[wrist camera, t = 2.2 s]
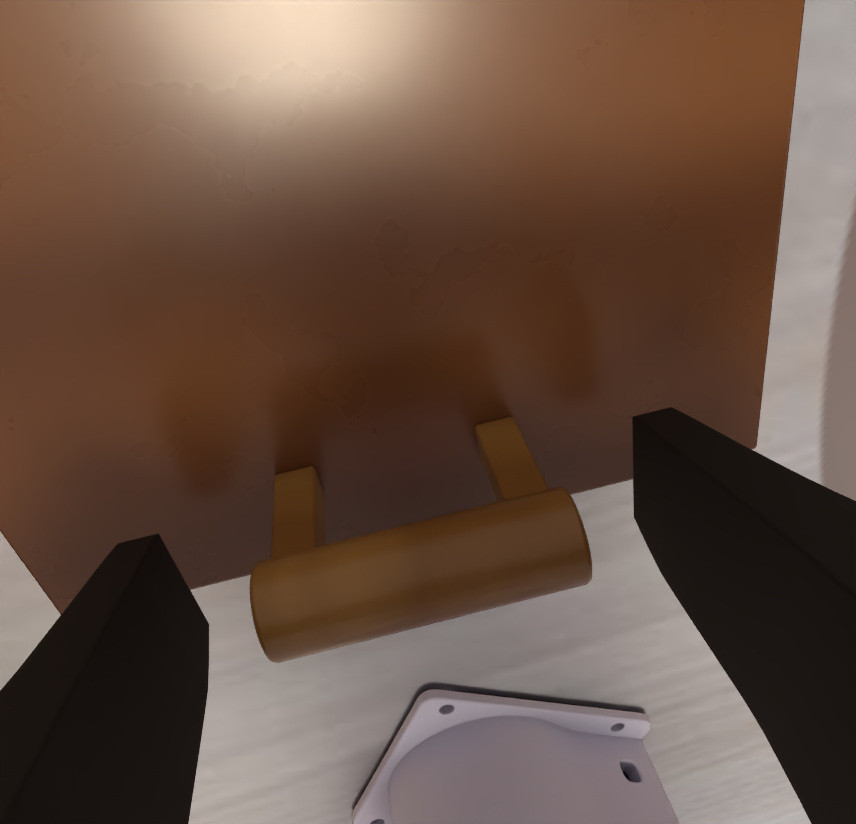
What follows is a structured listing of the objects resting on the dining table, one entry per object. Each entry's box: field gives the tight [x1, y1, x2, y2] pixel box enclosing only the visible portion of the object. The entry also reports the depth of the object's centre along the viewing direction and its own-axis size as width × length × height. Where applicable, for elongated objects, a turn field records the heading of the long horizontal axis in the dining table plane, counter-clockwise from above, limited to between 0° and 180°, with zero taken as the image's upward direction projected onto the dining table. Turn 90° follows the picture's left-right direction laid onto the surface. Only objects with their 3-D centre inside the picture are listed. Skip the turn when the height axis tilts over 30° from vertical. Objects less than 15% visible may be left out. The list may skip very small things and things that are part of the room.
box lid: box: [0, 0, 805, 663], centre depth 9 cm, size 11×13×4 cm
